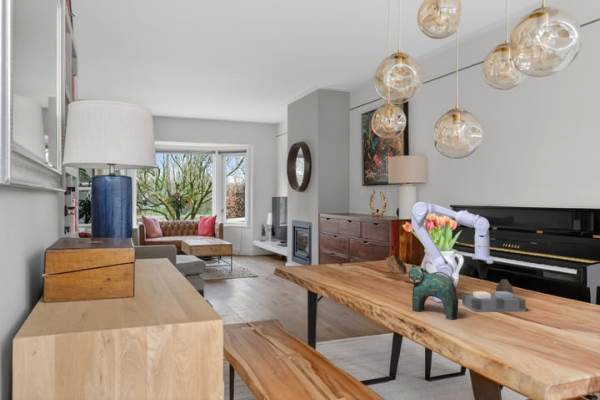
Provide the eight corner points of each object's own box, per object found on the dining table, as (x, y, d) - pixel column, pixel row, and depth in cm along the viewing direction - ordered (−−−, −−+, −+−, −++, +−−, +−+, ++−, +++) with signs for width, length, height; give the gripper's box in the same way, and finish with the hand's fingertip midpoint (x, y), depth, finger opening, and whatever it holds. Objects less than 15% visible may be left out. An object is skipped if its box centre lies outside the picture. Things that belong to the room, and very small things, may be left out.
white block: (478, 304, 173) (478, 294, 173) (473, 301, 178) (473, 291, 178) (491, 304, 174) (491, 294, 174) (485, 301, 179) (485, 291, 179)
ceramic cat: (406, 310, 172) (407, 259, 172) (417, 307, 176) (417, 257, 176) (451, 321, 157) (451, 265, 157) (461, 318, 160) (462, 263, 160)
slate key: (500, 304, 174) (500, 294, 174) (494, 301, 179) (494, 291, 179) (513, 304, 174) (513, 294, 174) (506, 301, 179) (506, 291, 179)
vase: (515, 301, 187) (515, 281, 187) (497, 301, 188) (497, 280, 188) (510, 298, 193) (510, 278, 193) (494, 297, 195) (494, 277, 195)
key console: (475, 311, 170) (475, 300, 170) (462, 304, 182) (462, 293, 182) (525, 311, 171) (525, 299, 171) (509, 304, 183) (509, 293, 183)
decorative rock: (385, 272, 260) (385, 254, 260) (389, 271, 265) (389, 253, 265) (403, 274, 253) (403, 256, 253) (408, 273, 258) (408, 255, 257)
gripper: (500, 247, 177) (500, 281, 177) (483, 244, 191) (484, 275, 191) (482, 247, 177) (483, 281, 176) (467, 244, 191) (468, 275, 191)
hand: (482, 278), depth 184 cm, fingers closed
